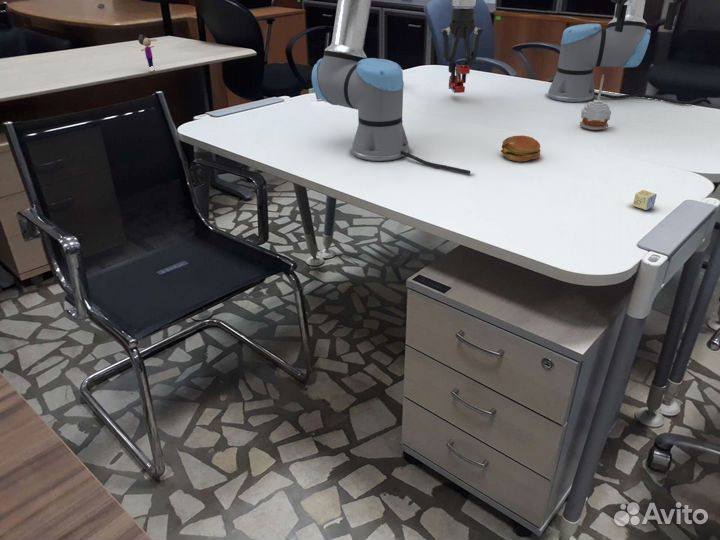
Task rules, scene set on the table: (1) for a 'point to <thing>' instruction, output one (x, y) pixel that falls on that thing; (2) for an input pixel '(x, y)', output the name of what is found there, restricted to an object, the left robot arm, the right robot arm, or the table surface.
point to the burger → (520, 148)
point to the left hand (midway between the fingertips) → (458, 82)
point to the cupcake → (596, 113)
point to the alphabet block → (644, 200)
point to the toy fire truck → (459, 79)
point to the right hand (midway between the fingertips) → (642, 30)
